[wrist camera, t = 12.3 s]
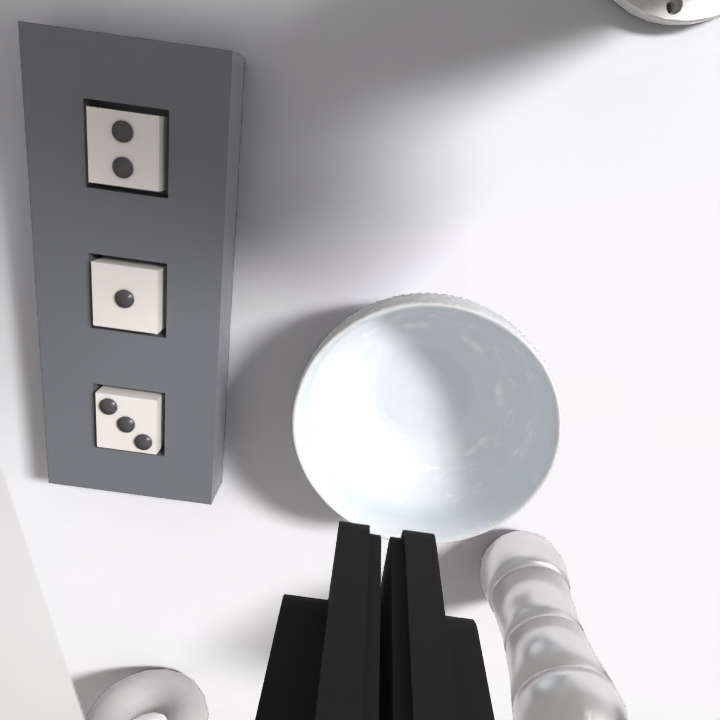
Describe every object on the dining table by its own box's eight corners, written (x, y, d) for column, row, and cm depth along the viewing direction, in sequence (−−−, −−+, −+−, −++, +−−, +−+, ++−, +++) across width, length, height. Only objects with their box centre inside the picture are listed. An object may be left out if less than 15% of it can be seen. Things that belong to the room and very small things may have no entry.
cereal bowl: (260, 349, 42) (236, 388, 35) (467, 228, 39) (484, 246, 32) (380, 522, 47) (379, 585, 40) (574, 429, 43) (609, 481, 37)
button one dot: (108, 254, 39) (90, 262, 37) (171, 263, 39) (157, 271, 37) (109, 315, 40) (92, 326, 38) (170, 323, 40) (156, 334, 38)
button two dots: (104, 108, 36) (84, 105, 33) (173, 117, 36) (158, 115, 33) (106, 179, 37) (87, 182, 35) (172, 188, 37) (157, 191, 35)
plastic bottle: (468, 581, 48) (520, 859, 30) (485, 513, 46) (554, 767, 27) (545, 592, 48) (646, 876, 30) (566, 524, 46) (690, 786, 27)
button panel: (47, 30, 35) (18, 21, 33) (244, 58, 35) (232, 51, 33) (69, 461, 46) (48, 482, 43) (221, 482, 46) (211, 504, 43)
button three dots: (110, 378, 42) (94, 393, 40) (169, 386, 42) (156, 401, 40) (111, 430, 44) (96, 447, 41) (168, 438, 44) (155, 455, 41)
